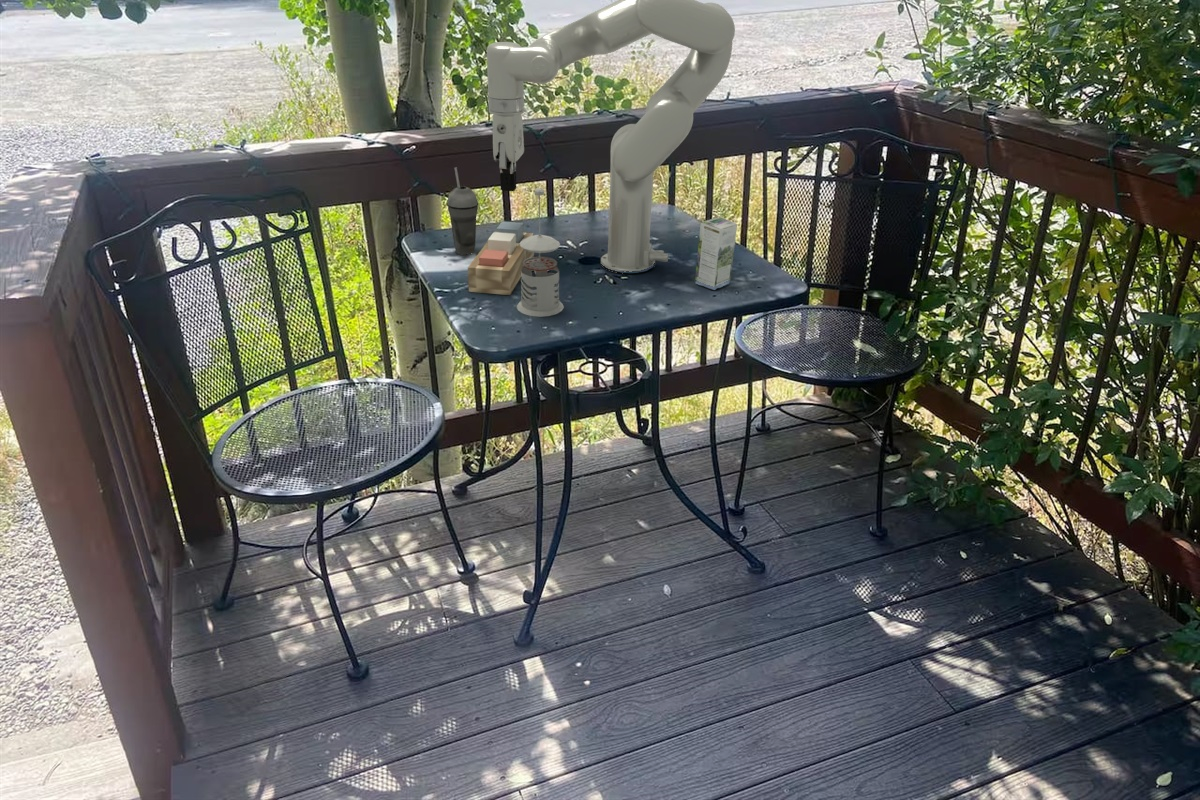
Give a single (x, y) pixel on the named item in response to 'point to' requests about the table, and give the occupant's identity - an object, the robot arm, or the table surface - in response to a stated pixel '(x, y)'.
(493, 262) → the red key
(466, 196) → the beverage cup
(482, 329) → the table surface
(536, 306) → the french press
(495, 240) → the white key
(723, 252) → the syrup box
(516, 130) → the robot arm
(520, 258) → the key box
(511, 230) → the blue key
